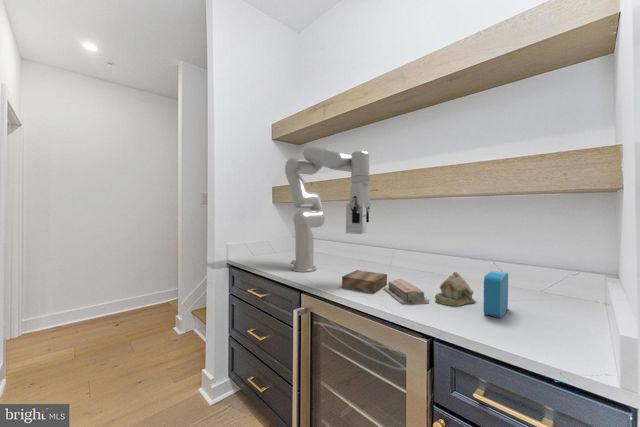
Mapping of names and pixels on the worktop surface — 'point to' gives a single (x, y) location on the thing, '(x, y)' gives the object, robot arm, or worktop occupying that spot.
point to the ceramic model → (455, 291)
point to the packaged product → (406, 292)
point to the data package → (495, 293)
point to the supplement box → (355, 227)
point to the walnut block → (364, 281)
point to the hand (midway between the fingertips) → (360, 222)
